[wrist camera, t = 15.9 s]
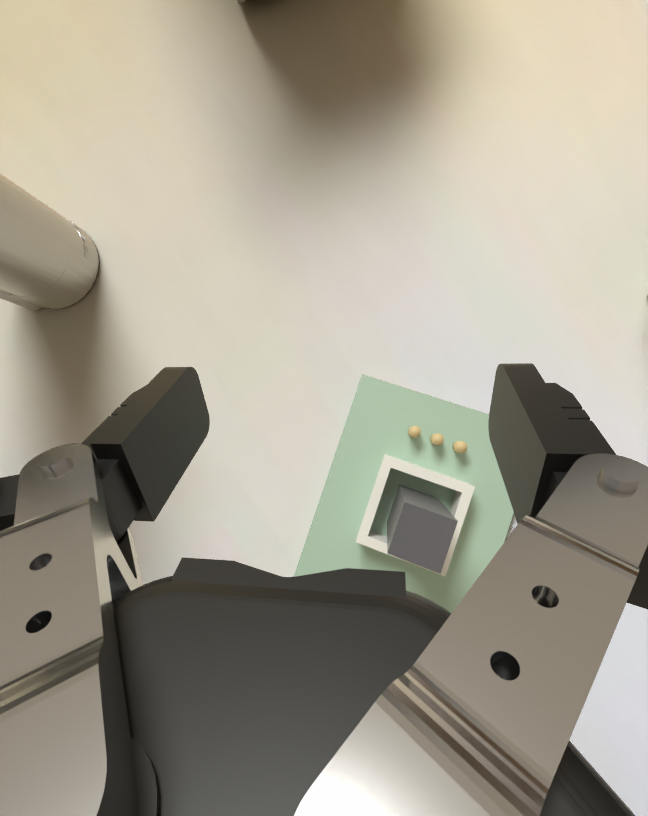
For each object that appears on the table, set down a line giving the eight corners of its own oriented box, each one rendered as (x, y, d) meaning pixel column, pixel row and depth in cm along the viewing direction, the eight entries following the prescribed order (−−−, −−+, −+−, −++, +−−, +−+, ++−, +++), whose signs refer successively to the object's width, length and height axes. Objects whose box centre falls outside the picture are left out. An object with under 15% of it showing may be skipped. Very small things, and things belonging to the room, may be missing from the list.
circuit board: (464, 649, 36) (473, 672, 32) (293, 579, 38) (284, 593, 35) (536, 431, 36) (552, 430, 33) (362, 375, 39) (360, 370, 35)
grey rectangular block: (425, 536, 36) (440, 573, 26) (386, 522, 37) (387, 553, 27) (438, 498, 36) (457, 521, 26) (399, 484, 37) (404, 501, 27)
